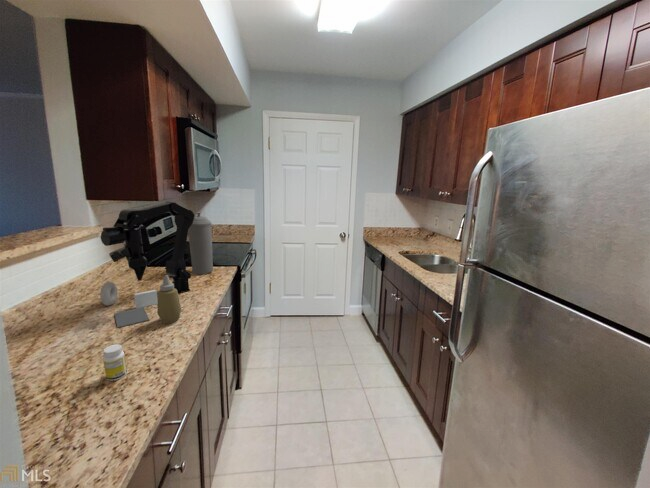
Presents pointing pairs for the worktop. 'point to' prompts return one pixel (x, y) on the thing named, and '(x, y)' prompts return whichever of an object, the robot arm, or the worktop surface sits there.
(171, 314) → the squeeze bottle
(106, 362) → the supplement bottle
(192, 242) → the canister
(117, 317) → the mat
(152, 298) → the tile
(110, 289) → the donut
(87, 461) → the worktop surface
